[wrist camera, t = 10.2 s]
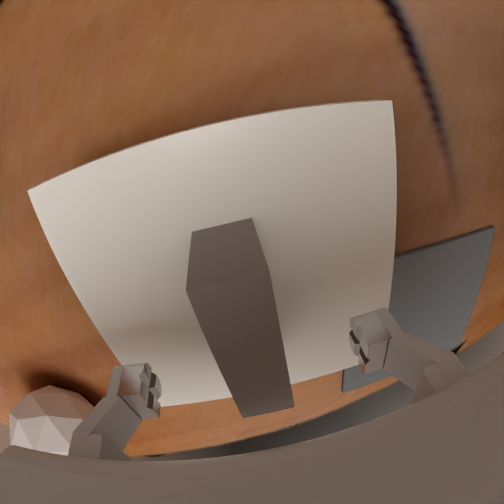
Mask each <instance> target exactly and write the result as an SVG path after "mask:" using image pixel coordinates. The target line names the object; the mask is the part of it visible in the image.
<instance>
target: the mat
mask: <svg viewBox="0 0 504 504" xmlns="http://www.w3.org/2000/svg"><path fill="white" fill-rule="evenodd" d="M494 230H495V227H494V226H490V227H487V228H483V229H480V230H477V231H474V232H471V233H468V234H465V235H462V236H459V237H455V238H452V239H449V240H446V241H443V242H439V243H436V244H433V245H429V246H426V247H423V248H419V249H416V250H413V251H409V252H406V253H402V254H399V255H395V256H394V265H393V275H392V285H391V294H390V301H389V309H388V311H389V312H390V313H391V315H392V316H393V318H394V319H395V320H396V322H397V323H398V325H399V326H400V328H401V329H402V330H403V332H404V333H407V332H408V333H410V334H412V335H414V336H417V337H419V338H421V339H423V340H426V341H428V342H430V343H432V344H435V345H437V346H439V347H441V348H444V349H446V350H450V349H452V348H454V347H456V346H458V345H459V344H460V342H461V339H462V337H463V335H464V332H465V330H466V327H467V324H468V322H469V319H470V316H471V314H472V311H473V308H474V305H475V302H476V299H477V296H478V293H479V290H480V286H481V283H482V280H483V276H484V273H485V269H486V265H487V261H488V257H489V253H490V249H491V244H492V240H493V235H494ZM389 376H392V375H391V374H389V373H388V372H386V371H385V370H383V369H380V370H377V371H374V372H371V373H368V374H365V375H364V374H363V372H362V370H361V367H360V365H356V366H353V367H350V368H347V369H343V381H342V392H343V393H345V392H348V391H351V390H354V389H357V388H360V387H362V386H365V385H368V384H371V383H374V382H376V381H379V380H382V379H384V378H387V377H389Z"/></svg>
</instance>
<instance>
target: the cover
mask: <svg viewBox="0 0 504 504" xmlns="http://www.w3.org/2000/svg"><path fill="white" fill-rule="evenodd" d="M28 194H29V197H30V199H31V202H32V204H33V207H34V209H35V212H36V214H37V217H38V219H39V222H40V224H41V226H42V228H43V231H44V233H45V235H46V237H47V240H48V242H49V244H50V246H51V248H52V250H53V252H54V254H55V256H56V258H57V260H58V262H59V264H60V266H61V268H62V270H63V272H64V274H65V276H66V278H67V279H68V281H69V283H70V285H71V287H72V288H73V290H74V292H75V294H76V296H77V297H78V299H79V301H80V302H81V304H82V306H83V307H84V309H85V311H86V312H87V314H88V316H89V317H90V319H91V320H92V322H93V324H94V325H95V327H96V328H97V330H98V331H99V333H100V334H101V336H102V337H103V339H104V340H105V342H106V343H107V345H108V346H109V348H110V349H111V351H112V352H113V353H114V355H115V356H116V358H117V359H118V360H119V362H120V363H121V364H122V365H131V364H141V363H148V364H149V365H150V366H151V368H152V370H151V372H152V373H154V374H156V375H157V377H158V378H159V380H160V383H161V388H162V393H161V397H160V398H159V399H158V402H159V403H160V404H161V406H160V407H162V406H171V405H180V404H189V403H196V402H203V401H210V400H216V399H223V398H228V397H233V399H234V401H235V403H236V405H237V407H238V409H239V411H240V413H241V415H242V417H243V418H245V417H250V416H256V415H261V414H266V413H270V412H275V411H279V410H284V409H288V408H292V407H294V401H293V395H292V390H291V384H294V383H298V382H302V381H306V380H309V379H313V378H317V377H320V376H324V375H327V374H330V373H334V372H337V371H340V370H343V369H347V368H350V367H353V366H356V365H359V363H358V358H359V357H358V356H356V355H354V353H353V351H352V349H351V346H350V341H349V332H350V331H351V330H352V329H351V327H350V319H351V318H353V317H356V316H359V315H362V314H365V313H368V312H371V311H375V310H378V309H381V308H384V307H385V308H387V309H389V301H390V294H391V285H392V275H393V265H394V252H395V237H396V213H397V166H396V142H395V127H394V115H393V105H392V100H362V101H348V102H336V103H326V104H317V105H309V106H301V107H294V108H287V109H281V110H274V111H268V112H263V113H257V114H252V115H247V116H242V117H237V118H232V119H227V120H223V121H218V122H214V123H210V124H206V125H202V126H198V127H194V128H190V129H186V130H183V131H179V132H175V133H172V134H168V135H165V136H162V137H158V138H155V139H152V140H149V141H145V142H142V143H139V144H136V145H133V146H130V147H127V148H124V149H121V150H119V151H116V152H113V153H110V154H108V155H105V156H102V157H100V158H97V159H94V160H92V161H89V162H87V163H84V164H82V165H80V166H77V167H75V168H72V169H70V170H68V171H65V172H63V173H61V174H59V175H56V176H54V177H52V178H50V179H48V180H45V181H43V182H41V183H39V184H37V185H35V186H34V187H32V188H31V189H29V190H28Z"/></svg>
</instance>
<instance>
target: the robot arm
mask: <svg viewBox="0 0 504 504" xmlns="http://www.w3.org/2000/svg"><path fill="white" fill-rule="evenodd" d="M350 327H351V329H352V330H351V331H350V332H349V341H350V346H351V349H352V351H353V353H354V355H356V356H358V357H359V358H358V363H359V365H360V367H361V370H362V372H363V374H364V375H365V374H368V373H371V372H374V371H377V370H380V369H383V370H385V371H386V372H388V373H389V374H391V375H392V376H394V377H395V378H397V379H398V380H400V381H402V382H403V383H405V384H406V385H408V386H409V387H411V388H412V389H414V390H415V392H414V394H413V396H412V398H411V401H410V403H409V404H410V405H408V406H406V407H404V408H402V409H399V410H397V411H395V412H392V413H390V414H387V415H385V416H382V417H380V418H377V419H375V420H372V421H369V422H367V423H363V424H361V425H358V426H355V427H352V428H349V429H346V430H343V431H340V432H336V433H333V434H330V435H326V436H323V437H319V438H316V439H312V440H308V441H304V442H301V443H296V444H292V445H288V446H283V447H279V448H273V449H268V450H263V451H258V452H252V453H246V454H239V455H233V456H225V457H217V458H207V459H196V460H195V459H194V460H180V461H132V459H131V457H129V456H128V455H126V454H125V453H124V452H122V451H123V450H124V448H125V447H126V445H127V443H128V442H129V440H130V439H131V437H132V435H133V434H134V432H135V431H136V429H137V427H138V426H139V424H140V423H141V421H142V419H149V418H159V417H160V406H161V404H160V403H159V402H158V399H159V398H160V397H161V393H162V388H161V383H160V380H159V378H158V377H157V375H156V374H154V373H152V372H151V370H152V368H151V366H150V365H149V364H148V363H141V364H131V365H121V366H115V367H114V368H113V370H112V374H111V378H110V382H109V386H108V391H107V395H106V397H103V398H102V399H101V400H100V402H99V403H98V404H97V405H96V406H95V407H94V408H93V409H92V411H91V412H90V413H89V414H88V415H87V416H86V417H85V419H84V420H83V421H82V422H81V423H80V424H79V425H78V426H77V428H76V429H75V430H74V431H73V434H72V438H71V443H70V448H69V453H68V456H66V455H60V454H54V453H48V452H43V451H38V450H33V449H29V448H24V447H20V446H16V445H10V446H8V447H7V448H6V449H5V450H4V451H3V452H2V453H1V454H0V504H504V352H503V353H502V354H500V355H499V356H497V357H496V358H494V359H493V360H491V361H490V362H488V363H487V364H485V365H483V366H482V367H480V368H478V369H477V370H475V371H474V372H472V373H470V374H468V373H467V372H466V370H465V368H464V367H463V365H462V364H461V363H460V361H459V360H458V358H457V357H456V356H455V354H454V353H453V352H450V351H448V350H446V349H444V348H441V347H439V346H437V345H435V344H432V343H430V342H428V341H426V340H423V339H421V338H419V337H417V336H414V335H412V334H410V333H408V332H407V333H404V332H403V330H402V329H401V328H400V326H399V325H398V323H397V322H396V320H395V319H394V318H393V316H392V315H391V313H390V312H389V311H388V309H387V308H385V307H384V308H381V309H378V310H375V311H371V312H368V313H365V314H362V315H359V316H356V317H353V318H351V319H350Z"/></svg>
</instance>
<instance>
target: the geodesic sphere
mask: <svg viewBox="0 0 504 504" xmlns="http://www.w3.org/2000/svg"><path fill="white" fill-rule="evenodd" d="M93 408H94V406H93V405H91V404H90V403H89V402H88V401H87V400H86V399H85V398H84V397H83V396H81V395H80V394H79V393H77V392H73V391H69V390H65V389H62V388H58V387H55V386H52V385H48V386H46V387H43V388H41V389H38V390H35V391H33V392H30V393H28V394H26V395H25V396H24V397H23V398H22V399H21V400H20V401H19V402H18V403H17V404H16V406H15V407H14V408H13V409H12V410H11V411H10V412H9V430H10V443H11V445H16V446H20V447H24V448H29V449H33V450H38V451H43V452H48V453H54V454H60V455H66V456H68V453H69V448H70V443H71V438H72V434H73V431H74V430H75V429H76V428H77V426H78V425H79V424H80V423H81V422H82V421H83V420H84V419H85V417H86V416H87V415H88V414H89V413H90V412H91V411H92V409H93Z"/></svg>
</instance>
